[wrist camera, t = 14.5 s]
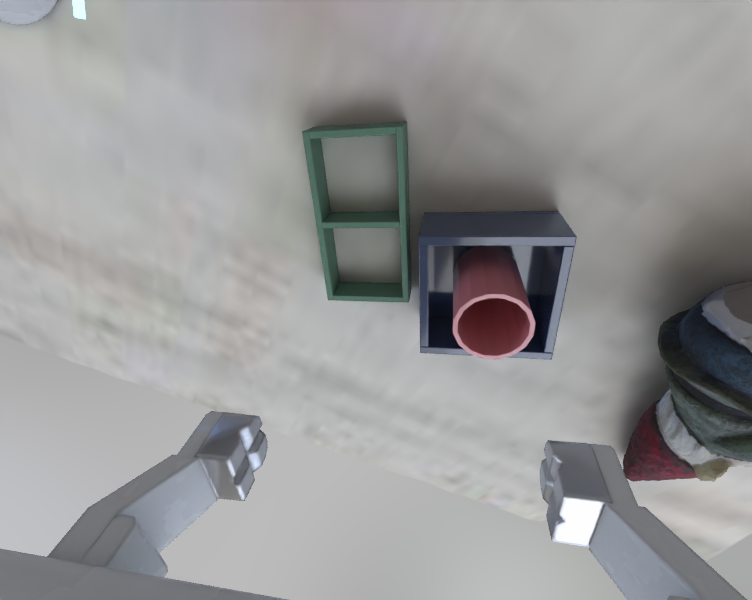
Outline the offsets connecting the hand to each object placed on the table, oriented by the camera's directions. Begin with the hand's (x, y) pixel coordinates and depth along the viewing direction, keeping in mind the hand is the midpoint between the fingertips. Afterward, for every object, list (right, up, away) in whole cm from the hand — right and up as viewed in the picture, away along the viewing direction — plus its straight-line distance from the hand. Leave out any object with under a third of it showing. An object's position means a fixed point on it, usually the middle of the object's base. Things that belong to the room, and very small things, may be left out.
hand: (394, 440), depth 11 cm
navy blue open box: (+10, +7, +28) cm, 31 cm away
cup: (+10, +7, +27) cm, 30 cm away
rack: (-1, +12, +27) cm, 30 cm away
